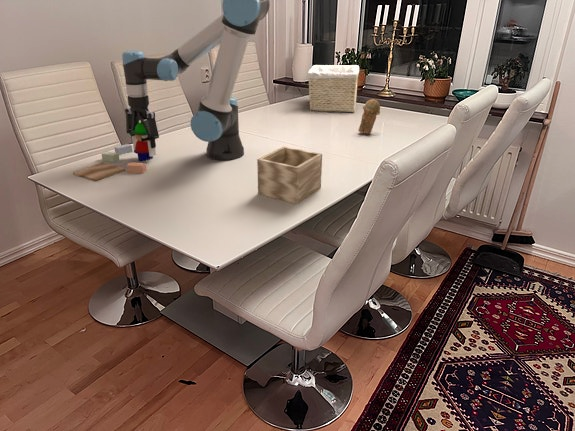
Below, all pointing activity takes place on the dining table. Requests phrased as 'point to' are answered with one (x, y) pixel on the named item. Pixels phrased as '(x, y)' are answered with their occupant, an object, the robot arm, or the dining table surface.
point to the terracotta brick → (136, 167)
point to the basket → (333, 87)
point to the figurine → (369, 115)
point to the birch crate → (289, 174)
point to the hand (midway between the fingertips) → (144, 153)
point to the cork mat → (99, 171)
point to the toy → (141, 142)
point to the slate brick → (123, 149)
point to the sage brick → (110, 156)
